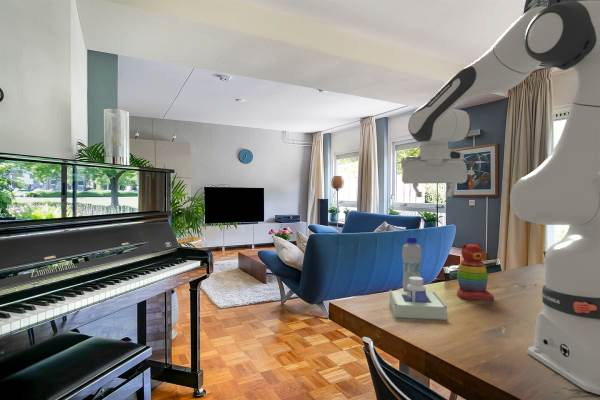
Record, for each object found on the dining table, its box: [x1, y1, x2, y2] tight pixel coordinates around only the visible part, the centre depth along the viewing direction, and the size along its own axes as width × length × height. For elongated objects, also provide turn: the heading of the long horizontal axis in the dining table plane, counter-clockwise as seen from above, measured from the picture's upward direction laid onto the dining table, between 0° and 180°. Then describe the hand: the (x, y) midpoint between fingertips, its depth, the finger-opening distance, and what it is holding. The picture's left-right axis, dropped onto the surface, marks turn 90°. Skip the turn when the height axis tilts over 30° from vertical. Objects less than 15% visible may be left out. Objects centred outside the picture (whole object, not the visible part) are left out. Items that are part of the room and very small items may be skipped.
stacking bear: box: [456, 243, 495, 301], centre depth 114 cm, size 11×10×18 cm
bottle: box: [401, 236, 423, 292], centre depth 118 cm, size 7×7×20 cm
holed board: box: [389, 289, 448, 321], centre depth 100 cm, size 14×14×4 cm
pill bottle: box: [407, 277, 427, 303], centre depth 100 cm, size 5×5×10 cm
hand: (433, 197), depth 110 cm, fingers open, 8 cm apart
